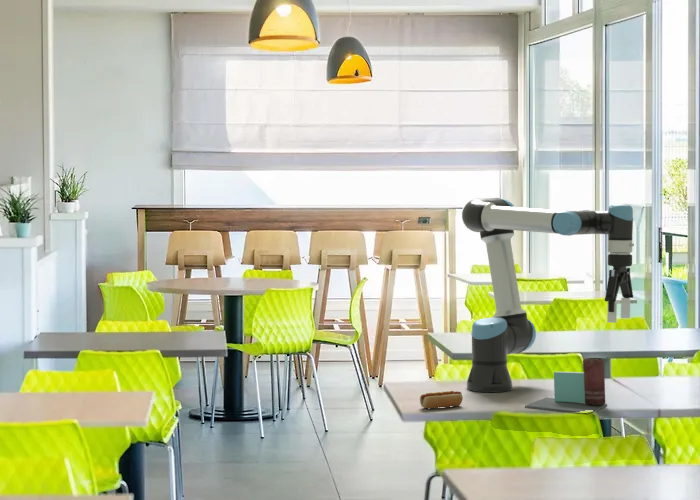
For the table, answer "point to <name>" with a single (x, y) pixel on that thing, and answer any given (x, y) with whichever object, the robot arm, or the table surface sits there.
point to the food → (441, 399)
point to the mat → (562, 405)
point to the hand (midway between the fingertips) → (618, 320)
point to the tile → (569, 387)
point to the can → (594, 381)
